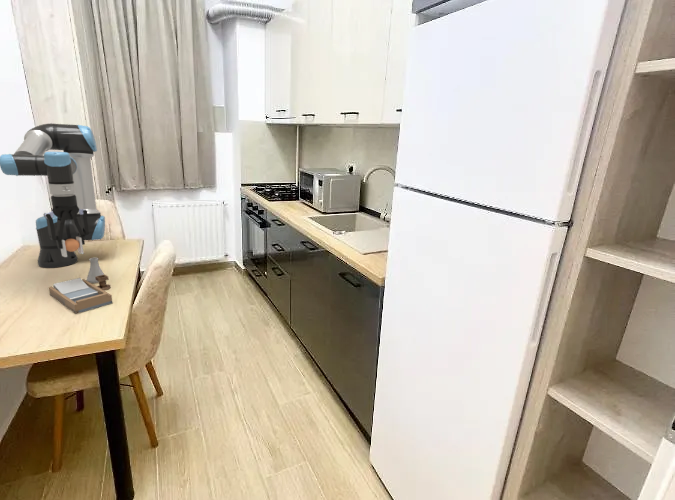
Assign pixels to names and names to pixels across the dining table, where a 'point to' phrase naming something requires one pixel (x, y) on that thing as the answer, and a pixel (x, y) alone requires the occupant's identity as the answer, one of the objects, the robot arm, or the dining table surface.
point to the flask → (94, 271)
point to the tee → (103, 282)
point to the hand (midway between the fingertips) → (72, 254)
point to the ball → (71, 245)
